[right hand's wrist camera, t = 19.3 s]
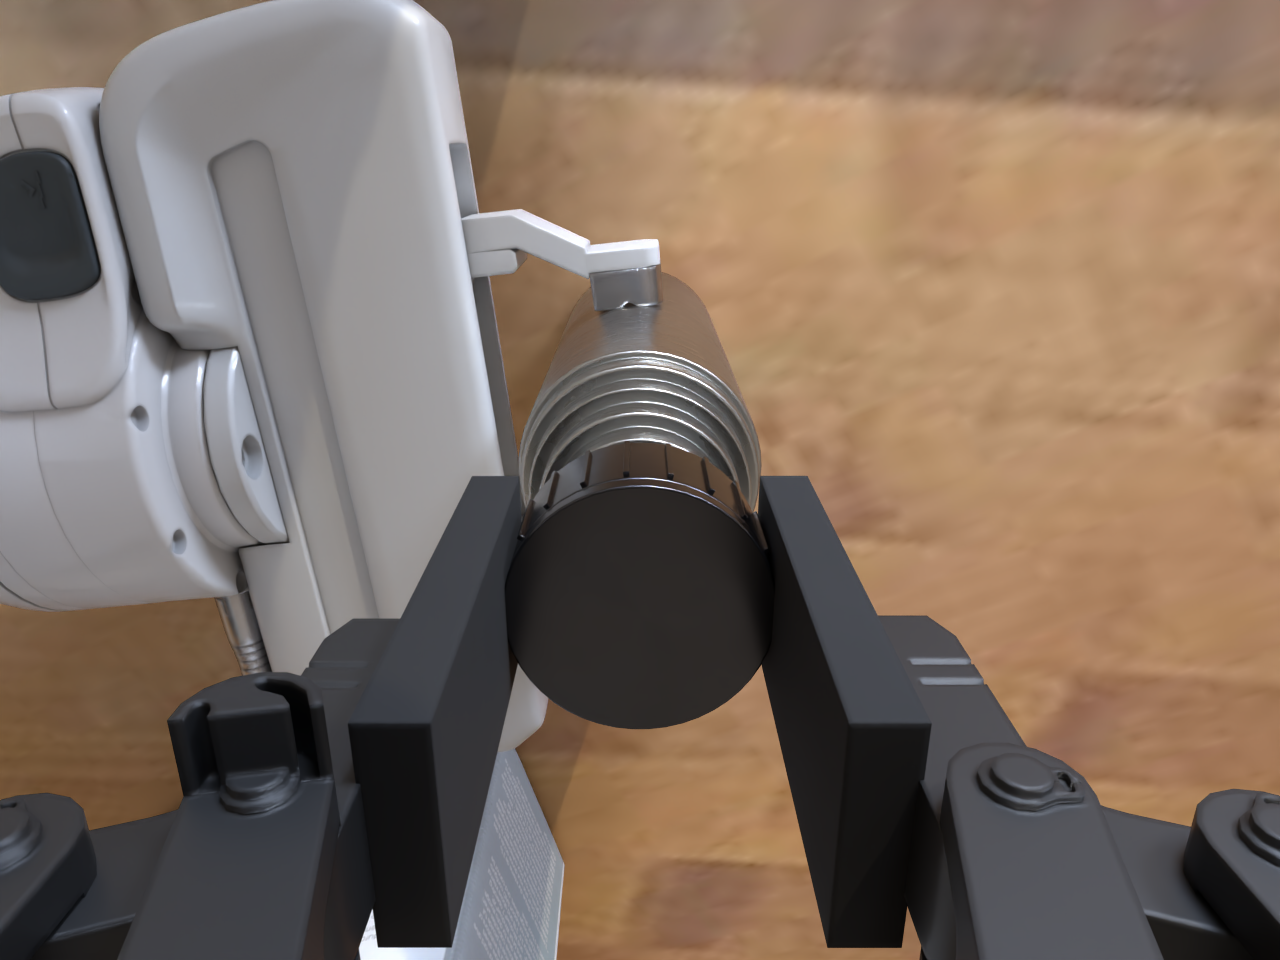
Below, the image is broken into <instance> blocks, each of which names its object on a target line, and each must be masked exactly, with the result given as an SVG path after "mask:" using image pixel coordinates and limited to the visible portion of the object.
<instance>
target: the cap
mask: <svg viewBox="0 0 1280 960" xmlns="http://www.w3.org/2000/svg"><path fill="white" fill-rule="evenodd" d="M517 539H518V541H517V544H516V547H515V550H514V554H513V557H512V560H511V564H510V567H509V570H508V573H507V577H506V582H505V607H506V624H507V639H508V642H509V645H510V648H511V650H512V653H513V655H514V657H515V658H516V660H517V662H518V664H519V666H520V668H521V669H522V670H523V672H524V673H525V674H526V676H527V677H528V678H529V680H530V681H531V682H532V683H533V684H534V685H535V686H536V687H537V688H538V689H539V690H540V691H541V692H542V693H543V694H544V695H545V696H547V697H548V698H549V699H550V700H552V701H553V702H554V703H556V704H557V705H559V706H560V707H562V708H564V709H565V710H567V711H569V712H571V713H573V714H575V715H577V716H579V717H581V718H584V719H587V720H589V721H592V722H595V723H598V724H603V725H607V726H612V727H617V728H627V729H653V728H662V727H668V726H673V725H677V724H681V723H685V722H687V721H690V720H693V719H696V718H699V717H701V716H703V715H705V714H707V713H709V712H711V711H713V710H715V709H716V708H718V707H719V706H721V705H722V704H724V703H726V702H727V701H728V700H730V699H731V698H732V697H733V696H734V695H736V694H737V693H738V692H739V691H740V690H741V689H742V688H743V687H744V686H745V685H746V684H747V683H748V682H749V681H750V680H751V678H752V677H753V676H754V674H755V673H756V671H757V670H758V669H759V667H760V666H761V664H762V662H763V660H764V658H765V656H766V654H767V653H768V650H769V648H770V645H771V642H772V629H773V612H774V595H775V581H774V577H773V573H772V570H771V567H770V564H769V560H768V557H767V553H770V551H769V548H768V545H767V541H766V538H765V535H764V532H763V529H762V526H761V523H760V520H759V517H758V514H757V512H752V510H751V507H750V505H749V504H748V502H747V500H746V499H745V497H744V495H743V494H742V492H741V491H740V487H739V484H738V482H737V481H736V480H735V481H732V480H730V479H729V478H728V477H727V476H726V475H725V474H724V473H723V472H722V471H721V470H719V469H718V468H717V467H715V466H714V465H713V464H711V463H710V462H709V459H708V458H706V457H705V456H704V457H703V458H701V457H699V456H697V455H695V454H693V453H690V452H688V451H685V450H682V449H680V448H676V447H672V446H671V444H670V443H665V445H664V444H655V443H630V441H624V444H617V445H612V446H608V447H604V448H600V449H597V450H595V451H592V452H591V451H590V450H588V451H585V455H582V456H581V457H579V458H577V459H575V460H574V461H572V462H570V463H568V464H567V465H566V466H564V467H563V468H562V469H560V470H559V471H558V472H557V471H556V470H555V471H553V472H552V474H551V478H550V479H549V480H548V481H547V482H546V483H545V484H544V486H543V487H542V488H541V490H540V491H539V492H538V494H537V495H536V496H535V498H534V500H532V499H530V500H529V501H528V503H527V507H526V510H525V513H524V516H523V520H522V523H521V526H520V529H519V533H518V536H517Z"/></svg>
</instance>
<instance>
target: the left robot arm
mask: <svg viewBox="0 0 1280 960" xmlns="http://www.w3.org/2000/svg"><path fill="white" fill-rule="evenodd" d="M527 253H529V254H531V255H533V256H536V257H538V258H540V259H543V260H545V261H547V262H550V263H552V264H554V265H557V266H559V267H561V268H564V269H566V270H568V271H571V272H573V273H575V274H578V275H580V276H582V277H585V278H587V279H589V277H590V282H591V289H592V296H593V303H594V310H595V311H602V310H612V309H617V308H622V307H623V306H624V305H625V304H626V303H628V302H631V303H632V304H634V305H636V306H650V305H656V304H659V303H662V302H663V301H664V298H663V286H662V274H661V263H660V254H659V243H658V240H656V239H644V240H634V241H625V242H615V243H606V244H596V245H590V241H589V240H588V239H585V238H583V237H581V236H579V235H577V234H575V233H572V232H570V231H568V230H566V229H564V228H561V227H559V226H557V225H555V224H553V223H551V222H548V221H546V220H544V219H542V218H540V217H537V216H535V215H533V214H531V213H529V212H527V211H524V210H522V209H516V210H507V211H498V212H489V213H479V209H478V202H477V196H476V190H475V184H474V177H473V171H472V165H471V159H470V152H469V146H468V140H467V134H466V127H465V121H464V115H463V109H462V103H461V96H460V90H459V84H458V78H457V71H456V65H455V59H454V53H453V47H452V41H451V38H450V35H449V33H448V31H447V30H446V28H445V27H444V26H443V25H442V24H441V23H440V22H439V21H438V20H436V19H435V18H434V17H433V16H432V15H431V14H430V13H428V12H427V11H426V10H425V9H424V8H423V7H421V6H420V5H419V4H417V3H416V2H415V1H413V0H272V1H267V2H263V3H259V4H255V5H251V6H247V7H243V8H239V9H235V10H232V11H228V12H225V13H221V14H218V15H215V16H211V17H208V18H205V19H201V20H198V21H195V22H192V23H189V24H186V25H183V26H180V27H177V28H174V29H171V30H169V31H166V32H164V33H161V34H159V35H157V36H155V37H153V38H151V39H149V40H147V41H145V42H144V43H142V44H141V45H139V46H138V47H136V48H134V49H133V50H132V51H131V52H130V53H128V54H127V55H126V56H125V57H124V58H123V59H122V60H121V61H120V62H119V64H118V65H117V66H116V67H115V68H114V70H113V72H112V74H111V75H110V77H109V79H108V80H107V83H106V85H105V88H95V87H66V88H50V89H39V90H31V91H25V92H19V93H14V94H8V95H4V96H0V604H3V605H8V606H13V607H17V608H21V609H27V610H34V611H47V612H60V611H74V610H85V609H95V608H106V607H117V606H127V605H138V604H149V603H158V602H168V601H179V600H190V599H201V598H212V597H214V598H215V601H216V604H217V608H218V611H219V614H220V618H221V621H222V624H223V627H224V631H225V633H226V636H227V639H228V641H229V643H230V645H231V648H232V650H233V651H234V654H235V656H236V659H237V661H238V664H239V667H240V670H241V674H242V676H244V675H249V674H254V673H259V672H288V673H292V674H296V675H300V676H301V674H302V673H303V671H304V670H305V668H309V662H310V660H311V659H312V657H313V656H314V654H315V652H316V651H317V649H318V648H319V646H320V645H321V643H322V641H323V640H324V639H325V638H326V637H328V636H329V635H330V634H332V633H333V632H335V631H336V630H337V629H339V628H340V627H342V626H343V625H345V624H346V623H347V622H349V621H350V620H352V619H353V618H401V616H402V614H403V612H404V610H405V608H406V606H407V604H408V602H409V600H410V598H411V596H412V594H413V592H414V590H415V588H416V586H417V584H418V582H419V580H420V578H421V576H422V574H423V572H424V570H425V569H426V567H427V565H428V563H429V561H430V559H431V557H432V555H433V553H434V551H435V549H436V547H437V545H438V543H439V541H440V539H441V537H442V535H443V533H444V531H445V529H446V527H447V525H448V523H449V521H450V519H451V517H452V515H453V513H454V511H455V509H456V507H457V505H458V503H459V501H460V499H461V497H462V495H463V493H464V491H465V489H466V487H467V485H468V483H469V481H470V479H471V477H472V476H519V458H518V452H517V445H516V439H515V433H514V427H513V420H512V414H511V408H510V402H509V395H508V389H507V383H506V377H505V371H504V364H503V358H502V352H501V346H500V339H499V333H498V327H497V321H496V314H495V308H494V302H493V296H492V290H491V283H490V277H489V276H494V275H502V274H511V273H514V272H515V271H516V270H517V269H518V268H519V267H520V266H521V265H522V264H523V263H524V262H525V260H526V259H527ZM519 478H520V477H519ZM520 498H521V518H522V520H523V516H524V513H525V510H526V508H525V505H524V502H523V497H522V491H521V484H520ZM548 699H549V698H548V697H547V696H545V695H544V694H543V693H542V692H541V691H540V690H539V689H538V688H537V687H536V686H535V685H534V684H533V683H532V682H531V681H530V680H529V678H528V677H527V676H526V674H525V673H524V672H523V670H522V669H521V668H520V666H519V664H518V666H517V670H516V675H515V679H514V683H513V687H512V692H511V696H510V700H509V705H508V709H507V713H506V718H505V722H504V726H503V730H502V735H501V739H500V743H499V748H498V752H505V751H509V750H512V749H515V748H516V747H518V746H519V745H520V744H521V743H523V742H524V741H525V740H526V739H528V738H529V737H530V736H531V735H532V734H534V733H535V732H536V731H537V730H538V729H539V728H540V727H541V726H542V724H543V722H544V719H545V715H546V709H547V704H548Z"/></svg>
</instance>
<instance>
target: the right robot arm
mask: <svg viewBox="0 0 1280 960" xmlns="http://www.w3.org/2000/svg"><path fill="white" fill-rule="evenodd" d="M758 517H759V520H760V523H761V526H762V529H763V532H764V535H765V538H766V541H767V545H768V548H769V551H770V553H767V557H768V560H769V564H770V567H771V570H772V573H773V577H774V581H775V595H774V612H773V629H772V642H771V645H770V648H769V650H768V653H767V654H766V656H765V658H764V660H763V662H762V669H763V673H764V677H765V681H766V686H767V690H768V694H769V699H770V703H771V707H772V711H773V716H774V720H775V724H776V729H777V733H778V737H779V741H780V746H781V750H782V754H783V759H784V763H785V767H786V772H787V776H788V780H789V784H790V789H791V793H792V797H793V802H794V806H795V810H796V814H797V819H798V823H799V827H800V832H801V836H802V840H803V844H804V849H805V853H806V857H807V862H808V866H809V870H810V874H811V879H812V883H813V887H814V892H815V896H816V900H817V904H818V909H819V913H820V917H821V922H822V926H823V930H824V935H825V939H826V943H827V947H828V948H902V941H903V934H904V926H905V919H906V911H907V906H908V909H909V912H910V915H911V918H912V920H913V923H914V926H915V929H916V932H917V935H918V938H919V940H920V943H921V953H920V960H1280V796H1279V795H1274V794H1270V793H1266V792H1261V791H1251V790H1240V789H1230V790H1225V791H1220V792H1215V793H1210V794H1209V795H1208V796H1207V797H1206V798H1204V799H1203V800H1202V801H1201V802H1200V803H1199V804H1198V805H1197V807H1196V811H1195V815H1194V819H1193V822H1192V826H1191V827H1189V826H1184V825H1180V824H1175V823H1170V822H1166V821H1161V820H1156V819H1152V818H1147V817H1142V816H1138V815H1133V814H1128V813H1125V812H1121V811H1118V810H1114V809H1111V808H1107V807H1104V806H1102V805H1100V803H1099V800H1098V798H1097V796H1096V794H1095V793H1094V791H1093V790H1092V788H1091V787H1090V786H1089V784H1088V783H1087V781H1086V780H1085V778H1084V777H1083V776H1081V775H1080V774H1079V773H1078V772H1076V771H1075V770H1074V769H1072V768H1071V767H1070V766H1068V765H1067V764H1066V763H1064V762H1063V761H1061V760H1059V759H1057V758H1055V757H1052V756H1050V755H1048V754H1046V753H1043V752H1041V751H1039V750H1037V749H1034V748H1029V747H1027V746H1026V745H1025V743H1024V742H1023V740H1022V739H1021V737H1020V736H1019V734H1018V732H1017V731H1016V729H1015V728H1014V726H1013V725H1012V723H1011V722H1010V720H1009V718H1008V717H1007V715H1006V714H1005V712H1004V711H1003V709H1002V708H1001V706H1000V704H999V703H998V701H997V700H996V698H995V697H994V695H993V693H992V692H991V690H990V689H989V687H988V686H987V685H984V682H983V680H984V679H983V678H982V676H981V675H980V673H979V672H978V670H977V669H976V667H975V665H974V664H971V659H970V658H969V656H968V654H967V653H966V651H965V650H964V648H963V647H962V645H961V644H960V642H959V640H958V639H957V637H956V636H955V635H953V634H952V633H951V632H949V631H948V630H946V629H945V628H944V627H942V626H941V625H939V624H938V623H936V622H935V621H934V620H932V619H931V618H929V617H928V616H878V615H877V613H876V612H875V610H874V608H873V606H872V604H871V602H870V600H869V598H868V596H867V594H866V592H865V590H864V588H863V586H862V584H861V582H860V580H859V578H858V576H857V574H856V572H855V570H854V568H853V566H852V564H851V562H850V560H849V558H848V556H847V554H846V552H845V550H844V548H843V546H842V544H841V542H840V540H839V538H838V536H837V534H836V532H835V530H834V528H833V526H832V524H831V522H830V520H829V518H828V516H827V514H826V512H825V510H824V508H823V506H822V504H821V502H820V500H819V498H818V496H817V494H816V492H815V490H814V488H813V486H812V484H811V482H810V480H809V478H808V476H760V486H759V506H758ZM521 523H522V518H521V498H520V478H519V476H472V477H471V479H470V481H469V483H468V485H467V487H466V489H465V491H464V493H463V495H462V497H461V499H460V501H459V503H458V505H457V507H456V509H455V511H454V513H453V515H452V517H451V519H450V521H449V523H448V525H447V527H446V529H445V531H444V533H443V535H442V537H441V539H440V541H439V543H438V545H437V547H436V549H435V551H434V553H433V555H432V557H431V559H430V561H429V563H428V565H427V567H426V569H425V570H424V572H423V574H422V576H421V578H420V580H419V582H418V584H417V586H416V588H415V590H414V592H413V594H412V596H411V598H410V600H409V602H408V604H407V606H406V608H405V610H404V612H403V614H402V616H401V618H353V619H352V620H350V621H349V622H347V623H346V624H345V625H343V626H342V627H340V628H339V629H337V630H336V631H335V632H333V633H332V634H330V635H329V636H328V637H326V638H325V639H324V640H323V641H322V643H321V645H320V646H319V648H318V649H317V651H316V652H315V654H314V656H313V657H312V659H311V660H310V662H309V668H305V670H304V671H303V673H302V674H301V676H300V675H296V674H292V673H288V672H259V673H254V674H249V675H244V676H239V677H234V678H230V679H227V680H225V681H222V682H220V683H217V684H215V685H212V686H209V687H207V688H204V689H203V690H201V691H200V692H198V693H196V694H195V695H193V696H192V697H190V698H189V699H187V700H186V701H184V702H183V703H181V704H180V705H179V707H178V708H177V709H176V710H175V712H174V713H173V714H172V715H171V716H170V718H169V719H168V720H167V722H168V727H169V731H170V736H171V741H172V745H173V750H174V754H175V759H176V763H177V768H178V773H179V777H180V782H181V786H182V791H183V795H184V797H183V799H182V802H181V804H180V807H179V809H178V810H175V811H172V812H168V813H165V814H161V815H158V816H154V817H150V818H146V819H141V820H137V821H132V822H127V823H123V824H118V825H113V826H109V827H104V828H99V829H95V830H90V831H89V829H88V825H87V821H86V818H85V814H84V810H83V808H82V807H80V806H79V805H78V804H77V803H76V802H75V801H74V800H73V799H71V798H70V797H66V796H61V795H55V794H50V793H40V794H29V795H19V796H14V797H11V798H6V799H2V800H0V960H360V953H359V946H360V943H361V940H362V937H363V935H364V932H365V929H366V926H367V923H368V920H369V917H370V915H371V912H372V909H373V916H374V923H375V931H376V938H377V945H378V948H452V945H453V941H454V936H455V932H456V928H457V923H458V919H459V915H460V911H461V906H462V902H463V898H464V893H465V889H466V885H467V880H468V876H469V872H470V868H471V863H472V859H473V855H474V850H475V846H476V842H477V838H478V833H479V829H480V825H481V820H482V816H483V812H484V808H485V803H486V799H487V795H488V790H489V786H490V782H491V778H492V773H493V769H494V765H495V760H496V756H497V752H498V748H499V743H500V739H501V735H502V730H503V726H504V722H505V718H506V713H507V709H508V705H509V700H510V696H511V692H512V687H513V683H514V679H515V675H516V670H517V666H518V662H517V660H516V658H515V657H514V655H513V653H512V650H511V648H510V645H509V642H508V639H507V624H506V607H505V582H506V577H507V573H508V570H509V567H510V564H511V560H512V557H513V554H514V550H515V547H516V544H517V541H518V539H517V536H518V533H519V529H520V526H521Z"/></svg>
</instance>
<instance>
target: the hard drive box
mask: <svg viewBox="0 0 1280 960" xmlns="http://www.w3.org/2000/svg"><path fill="white" fill-rule="evenodd" d="M563 877H564V862H563V860H562V857H561V855H560V852H559V850H558V847H557V845H556V843H555V840H554V838H553V836H552V833H551V831H550V829H549V826H548V824H547V822H546V819H545V817H544V814H543V812H542V810H541V807H540V805H539V803H538V801H537V798H536V796H535V794H534V791H533V789H532V787H531V784H530V782H529V779H528V777H527V775H526V772H525V770H524V768H523V765H522V763H521V761H520V759H519V756H518V754H517V752H516V750H515V749H512V750H509V751H505V752H497V756H496V760H495V765H494V769H493V773H492V778H491V782H490V786H489V790H488V795H487V799H486V803H485V808H484V812H483V816H482V820H481V825H480V829H479V833H478V838H477V842H476V846H475V850H474V855H473V859H472V863H471V868H470V872H469V876H468V880H467V885H466V889H465V893H464V898H463V902H462V906H461V911H460V915H459V919H458V923H457V928H456V932H455V936H454V941H453V945H452V948H378V945H377V938H376V931H375V923H374V916H373V909H372V912H371V915H370V917H369V920H368V923H367V926H366V929H365V932H364V935H363V937H362V940H361V943H360V946H359V953H360V960H556V957H557V946H558V934H559V923H560V911H561V899H562V886H563Z"/></svg>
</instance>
